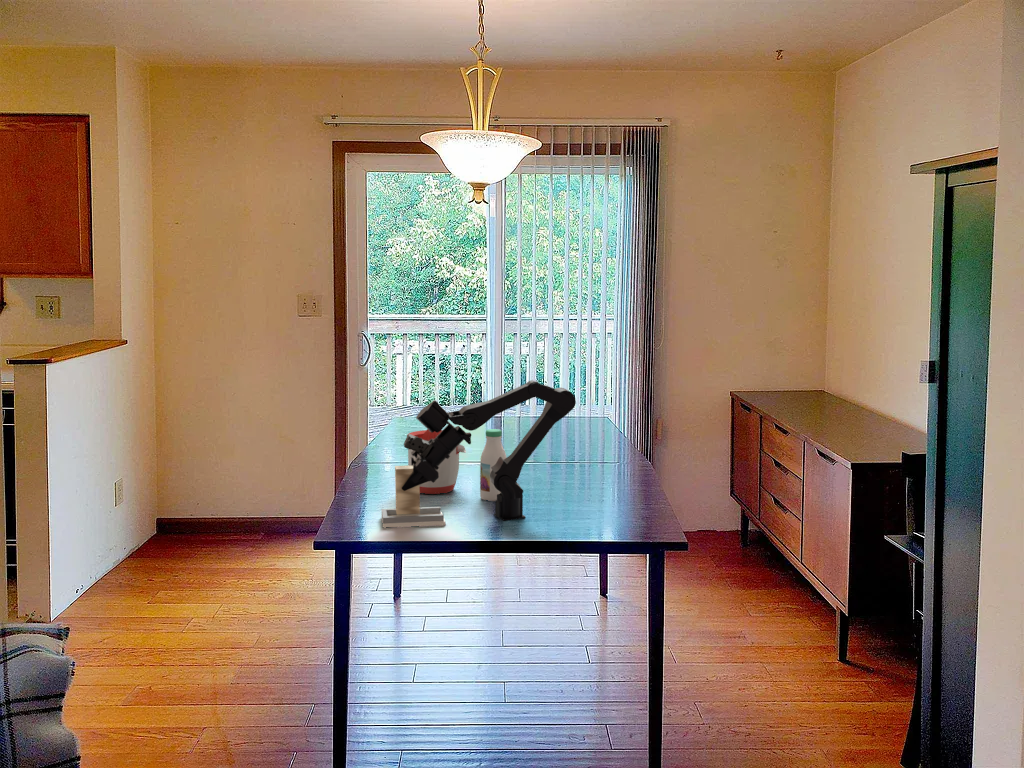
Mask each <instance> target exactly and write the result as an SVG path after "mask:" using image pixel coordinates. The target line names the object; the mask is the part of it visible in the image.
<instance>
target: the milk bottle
mask: <svg viewBox="0 0 1024 768" xmlns="http://www.w3.org/2000/svg"><path fill="white" fill-rule="evenodd" d="M502 435H503V432H502V430H501V429H498V428H497V429H496V428H492V429H491V428H490V429H486V430H485V438H486V442H485V445H484V447H483V450H482V452H481V455H480V467H479V477H480V481H479V485H480V488H479V492H480V493H479V496H480V499H481V500H483V501H486V500H488V502H495V501H496V500H497V494H500V491H499V490H497V489H496V488H495V486H494V485H493V483H492V482H491V479H490V474H491V471H492V469H491V467H493V466H494V465H495V464H496V463H497V461H498V459H499V457H502V458H503V459H506V458H507V457H508V456H507V454H506V450H505V449H504V447H503V444H502V438H503V437H502Z"/></svg>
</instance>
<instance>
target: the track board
mask: <svg viewBox="0 0 1024 768" xmlns="http://www.w3.org/2000/svg"><path fill="white" fill-rule="evenodd" d="M441 509H442V507H441V506H423V507H421V506H420V514H401V515H397V514H396V508H381V522H382V523H383V524H382V528H383V527H384V528H383V529H387V528H386V527H397V528H412V527H411V526H419V527H435V526H436V527H437V526H441V527H442V526H446V518H445V517H444V514H443V512H442V510H441Z"/></svg>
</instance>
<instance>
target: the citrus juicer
mask: <svg viewBox="0 0 1024 768" xmlns="http://www.w3.org/2000/svg"><path fill="white" fill-rule="evenodd" d="M442 430H443V429H442ZM442 430H441V431H442ZM441 431H440V432H441ZM440 432H438V433H437V432H435V431H434V432H433V433H431V432H430V431H429V430H428V429H427V428H426V430H425V429H424V430H423V429H422V430H417V431H416V430H415V431H411V432H409V433H407V434H406V436H407V435H408V434H411V435H413V436H418V437H419V438H422V439H423V440H425V441H427V442H428V441H429V440H430V439H432V438H433V439H435V438H436V437H437V436H438V435H439V433H440ZM412 451H413V450H411V449H407V456H408V457H407V459H408V461H407V462H408V463H407V464H408V465H407V466H409V465H411V457H412V458H413V459H414V458H415V456H413V455H412V454H411V452H412ZM460 453H467V451H466V447H465V446H464V445H463V444H461V443H460V444H459V445H458V446H457V447H456V448H455V449H454V450H453V451H452V452H451V453H450V457H449V458H448V459H447V458H446V459H445V460H444V461H443V462H442V463H441V464H440V465H439V466H438V467H439V468H438V469H437V471H438V473H439V478H438V479H437V480H436V481H435V482H434V483H433V482H432V481H428V482H425V483H423V484H420V485H419V486H420V493H425V494H427V495H428V494H429V495H431V494H432V495H435V494H438V495H439V494H440V493H446V494H447V493H450V492H452V491H453V490H454V489H455V487H456V484H457V480H458V476H459V471H460V469H459V468H460Z"/></svg>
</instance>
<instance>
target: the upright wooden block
mask: <svg viewBox="0 0 1024 768" xmlns="http://www.w3.org/2000/svg"><path fill="white" fill-rule="evenodd" d="M412 472H413V465H409V466H408V465H394V473H395V474H394V476H395V477H394V479H395V481H394V484H395V485H394V486H395V487H394V488H395V509H396V514H397V515H401V514H420V507H421V501H420V500H421V498H420V495H421V494H420V486H419V485H418V486H415V487H413V488H410V489H408V490H406V491H404V490H402V486H403V485H404V483H405V482H406V481H407V479H408V478H409V476H410V475H411V473H412Z"/></svg>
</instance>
